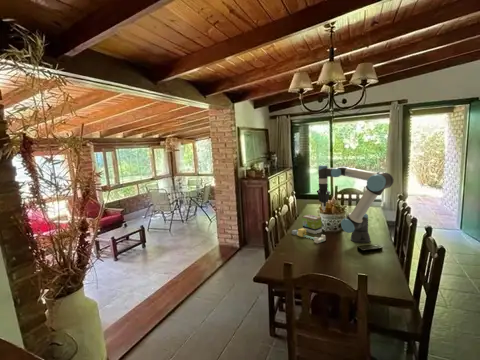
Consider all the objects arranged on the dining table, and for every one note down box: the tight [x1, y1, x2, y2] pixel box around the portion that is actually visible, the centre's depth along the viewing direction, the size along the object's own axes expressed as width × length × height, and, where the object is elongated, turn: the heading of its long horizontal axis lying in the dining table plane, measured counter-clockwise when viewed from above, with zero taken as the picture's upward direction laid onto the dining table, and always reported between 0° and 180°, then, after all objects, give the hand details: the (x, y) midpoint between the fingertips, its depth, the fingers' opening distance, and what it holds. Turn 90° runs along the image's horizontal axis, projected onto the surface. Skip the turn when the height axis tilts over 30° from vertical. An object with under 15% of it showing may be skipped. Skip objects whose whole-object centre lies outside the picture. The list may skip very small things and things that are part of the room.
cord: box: [296, 233, 324, 243], centre depth 252 cm, size 32×2×2 cm, turn 35°
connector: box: [291, 229, 298, 236], centre depth 263 cm, size 4×4×3 cm
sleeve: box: [297, 227, 307, 238], centre depth 256 cm, size 5×5×6 cm
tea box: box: [302, 214, 323, 235], centre depth 266 cm, size 15×10×15 cm, turn 37°
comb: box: [313, 234, 327, 244], centre depth 240 cm, size 4×10×4 cm, turn 126°
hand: (323, 209), depth 248 cm, fingers closed
